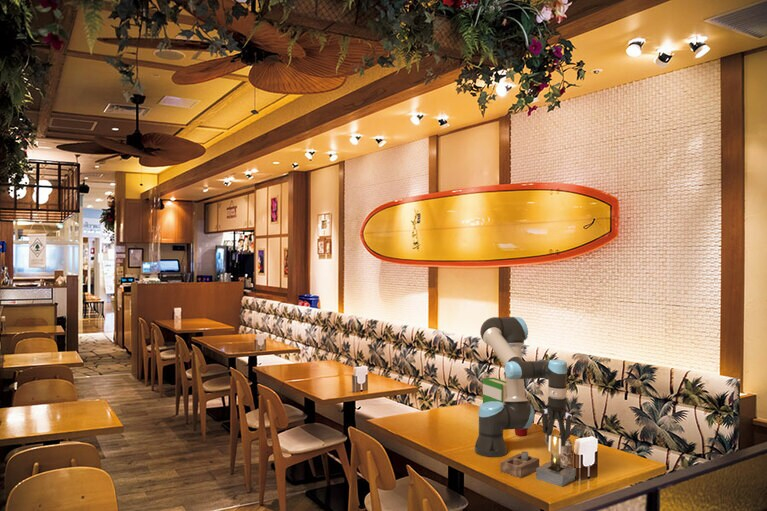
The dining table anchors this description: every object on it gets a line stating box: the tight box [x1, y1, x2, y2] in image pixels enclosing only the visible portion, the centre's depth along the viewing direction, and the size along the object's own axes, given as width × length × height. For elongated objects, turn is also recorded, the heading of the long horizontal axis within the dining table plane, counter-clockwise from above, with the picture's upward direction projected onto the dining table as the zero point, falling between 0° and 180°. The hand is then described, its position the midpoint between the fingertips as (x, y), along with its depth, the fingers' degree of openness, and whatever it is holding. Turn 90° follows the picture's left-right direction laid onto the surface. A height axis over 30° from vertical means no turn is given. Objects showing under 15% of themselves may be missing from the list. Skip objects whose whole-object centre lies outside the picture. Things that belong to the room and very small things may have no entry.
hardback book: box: [482, 377, 507, 405], centre depth 336 cm, size 18×7×24 cm, turn 25°
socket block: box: [535, 461, 577, 487], centre depth 252 cm, size 12×12×4 cm
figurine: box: [561, 438, 575, 468], centre depth 266 cm, size 7×7×12 cm
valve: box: [544, 433, 570, 446], centre depth 301 cm, size 7×7×12 cm
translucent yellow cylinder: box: [550, 433, 561, 470], centre depth 252 cm, size 4×4×14 cm
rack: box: [499, 450, 540, 479], centre depth 261 cm, size 10×16×7 cm, turn 137°
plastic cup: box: [514, 428, 529, 438], centre depth 314 cm, size 11×11×12 cm
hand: (555, 451), depth 252 cm, fingers closed on translucent yellow cylinder, 4 cm apart
